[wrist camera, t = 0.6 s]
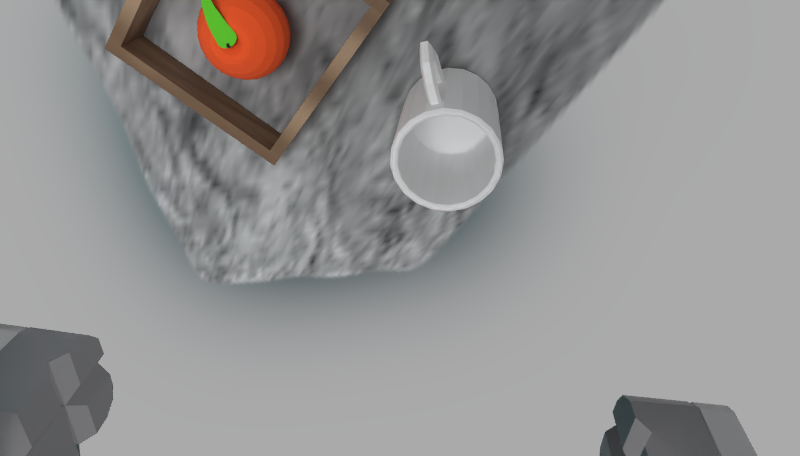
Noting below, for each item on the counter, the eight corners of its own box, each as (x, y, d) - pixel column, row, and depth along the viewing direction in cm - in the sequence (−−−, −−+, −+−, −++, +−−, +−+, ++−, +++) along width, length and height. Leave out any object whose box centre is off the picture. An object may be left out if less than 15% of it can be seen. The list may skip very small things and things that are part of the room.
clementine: (192, -9, 45) (150, 9, 39) (260, -54, 43) (226, -42, 37) (250, 79, 49) (220, 108, 43) (316, 41, 46) (293, 66, 40)
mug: (480, 7, 44) (482, 39, 35) (504, 147, 50) (511, 202, 41) (381, 31, 45) (361, 67, 37) (415, 163, 51) (405, 219, 43)
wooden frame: (215, -155, 40) (195, -158, 37) (395, -6, 44) (389, 3, 41) (127, 37, 48) (104, 48, 45) (285, 148, 52) (274, 165, 49)
